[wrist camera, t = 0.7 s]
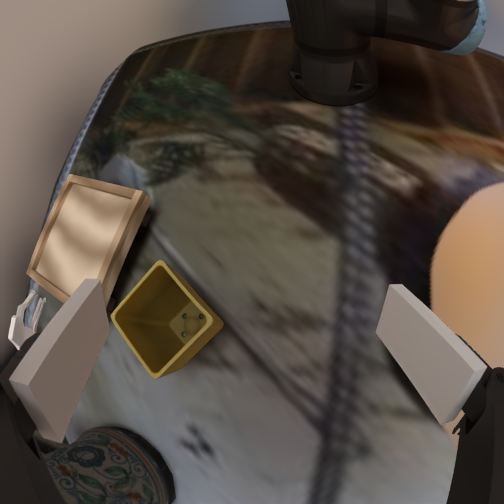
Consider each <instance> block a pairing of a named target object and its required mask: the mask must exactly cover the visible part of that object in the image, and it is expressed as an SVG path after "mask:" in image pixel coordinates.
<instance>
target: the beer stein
mask: <svg viewBox="0 0 504 504" xmlns="http://www.w3.org/2000/svg"><path fill="white" fill-rule="evenodd" d="M33 436H34V437H35V439H36V441H37V443H38V446H39V448H40V451H41V452H43V453H45V455H43V458H44V461H45V463H46V465H47V468H48V470H49V472H50V474H51V476H52V479H53V481H54V483H55V485H56V487H57V489H58V491H59V493H60V495H61V497H62V499H63V501H64V502H65V504H172V503H173V501H174V500H175V498H176V496H175V490H174V483H173V476H172V473H171V472H170V470H169V468H168V467H167V465H166V463H165V462H164V460H163V458H162V456H161V454H160V453H159V452H158V451H157V450H156V449H155V448H153V447H152V446H151V445H150V444H149V443H148V442H147V441H146V440H145V439H143V438H142V437H141V436H140V435H137V434H135V433H133V432H131V431H129V430H127V429H124V428H114V427H96V428H92V429H90V430H87V431H86V432H84V433H83V434H82V435H81V436H80V437H79V438H78V439H77V441H75V442H74V443H72V444H70V445H68V444H67V443H65V442H62V443H59V442H55V441H52V440H49V439H45V438H43V437H42V435H41V434H40V432H39V431H38V429H37V428H36V430H35V432H34V434H33Z"/></svg>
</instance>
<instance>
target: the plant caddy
mask: <svg viewBox="0 0 504 504" xmlns="http://www.w3.org/2000/svg"><path fill="white" fill-rule="evenodd" d="M151 201H152V199H151V198H150V197H148V196H147V195H146V194H145V193H144V192H143V191H139V190H135V189H131V188H127V187H123V186H119V185H115V184H111V183H106V182H102V181H98V180H94V179H89V178H85V177H81V176H76V175H72V174H69V176H68V178H67V179H66V181H65V183H64V185H63V187H62V189H61V191H60V193H59V195H58V197H57V199H56V201H55V204H54V206H53V208H52V210H51V212H50V214H49V217H48V219H47V221H46V223H45V226H44V228H43V230H42V233H41V235H40V238H39V240H38V243H37V245H36V248H35V251H34V254H33V256H32V259H31V262H30V264H29V267H28V270H27V274H28V275H29V276H30V277H31V278H32V279H34V280H35V281H36V282H37V283H38V284H40V285H41V286H42V287H43V288H45V289H46V290H47V291H48V292H50V293H51V294H52V295H53V296H55V297H56V298H57V299H58V300H60V301H61V302H62V303H64V304H65V302H66V301H67V300H68V299H69V298H70V296H71V295H72V294H73V293H74V292H75V290H76V289H77V288H78V287H79V286H80V285H81V283H82V282H83V281H84V280H85V279H86V278H87V279H101V284H102V290H103V296H104V302H105V308H106V311H110V312H112V310H113V307H114V305H115V302H116V300H114V299H113V298H111V297H110V296H111V293H112V291H113V288H114V286H115V283H116V280H117V278H118V275H119V273H120V270H121V268H122V265H123V263H124V261H125V258H126V256H127V253H128V251H129V249H130V246H131V244H132V242H133V240H134V237H135V235H136V233H137V231H138V228H139V226H142V227H147V224H148V222H149V220H150V218H151V216H150V215H149V214H148V213H146V211H147V209H148V207H149V205H150V203H151Z"/></svg>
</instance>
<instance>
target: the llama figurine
mask: <svg viewBox="0 0 504 504" xmlns="http://www.w3.org/2000/svg"><path fill="white" fill-rule="evenodd" d="M34 291H35V290H34ZM34 291H33V290H31V293H30V295H29V296H28V298H27V299H26V300H25V302H24V303H23V304H21V305H19V306H18V310H17V315H16V316H15V315H14V316H13V317H12V320H11V325H10V330H9V336H8V339H9V340H10V341H11V342H12V343H13V344H14V345H15V346H16V347H17V349H18V350H20V347H21V346H22V344H23V343H24V342H25V340H26V339H28V338H29V337H30V336H32V335H33V334H35V333H37V326H38V322H39V318H40V315H41V312H42V309H43V306H44V303H46V298H44V300H43V302H42V298H40V299H39V302H38V305H37V307H36V310H35V313H34V316H33V319H32V321H31V324H30V327H24V324H23V316H24V310H25V309H26V307H27V306H28V305H29V304H30V303H31V302H32V300H33V299H34V297H35V296H37V293H38V292H37V290H36V291H35V292H34ZM41 302H42V305H41V308H40V311H39V314H38V317H37V313H38V310H39V307H40V304H41ZM36 317H37V319H36ZM35 320H36V322H35Z"/></svg>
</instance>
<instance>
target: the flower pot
mask: <svg viewBox="0 0 504 504" xmlns="http://www.w3.org/2000/svg"><path fill="white" fill-rule="evenodd" d="M184 314H186V315H187V317H186V318H183V315H184ZM201 314H202V315H203V316H204V317H203V319H200V317H199V316H200V315H201ZM111 319H112V321H113V323H114V324H115V326H116V327H117V329H118V331H119V332H120V334H121V335H122V336H123V338H124V339H125V341H126V342H127V344H128V345H129V347H130V348H131V349H132V351H133V352H134V354H135V355H136V356H137V358H138V359H139V360H140V362H141V363H142V365H143V366H144V367H145V369H146V370H147V371H148V373H149V374H150V375H151V376H152V377H153V378H154V379H158V378H160V377H163V376H165V375H168V374H170V373H173V372H175V371H177V370H179V369H181V368H182V367H183V366H185V365H186V364H187V363H188V362H189V361H190V360H191V359H192V358H193V357H194V356H195V355H196V354H197V353H198V352H199V351H200V350H201V349H202V348H203V347H204V346H205V345H206V344H207V343H208V342H209V341H210V340H211V339H212V338H213V337H214V336H215V335H216V334H217V333H218V332H219V331H220V330H221V329H222V328H223V326H224V323H223V321H222V320H221V319H220V318H219V317H218V316H217V315H216V314H215V313H214V312H213V311H212V310H211V308H210V307H209V306H208V305H207V304H206V303H205V302H204V301H203V300H202V299H201V297H200V296H199V295H198V294H197V293H196V292H195V291H194V289H193V288H192V287H191V286H190V285H189V284H188V282H187V281H186V280H185V279H184V278H183V277H182V276H181V275H180V274H179V273H177V272H176V271H175V270H174V269H172V268H171V267H170V266H169V265H168V264H166V263H165V262H164V261H162V260H158V261H157V262H156V263H155V264H154V265H153V267H152V268H151V269H150V270H149V271H148V272H147V273H146V274H145V276H144V277H143V278H142V279H141V280H140V281H139V283H138V284H137V285H136V286H135V287H134V288H133V289H132V291H131V292H130V293H129V294H128V295H127V296H126V297H125V299H124V300H123V301H122V302H121V303H120V304H119V305H118V307H117V308H116V309H115V310H114V312H113V313H112V314H111ZM183 332H185V333H186V336H185V337H184V336H183V335H182V333H183Z"/></svg>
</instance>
